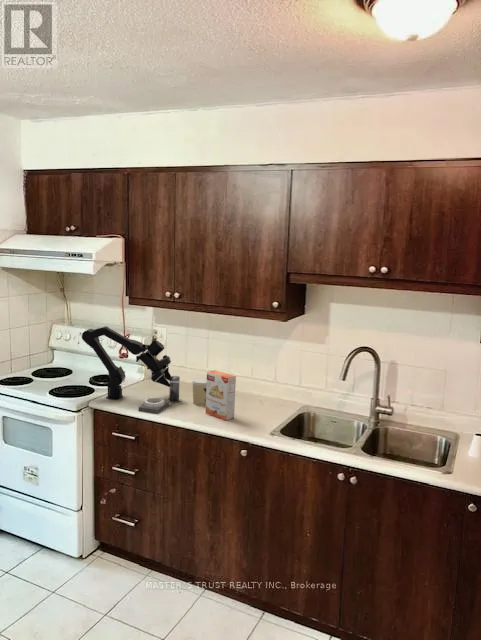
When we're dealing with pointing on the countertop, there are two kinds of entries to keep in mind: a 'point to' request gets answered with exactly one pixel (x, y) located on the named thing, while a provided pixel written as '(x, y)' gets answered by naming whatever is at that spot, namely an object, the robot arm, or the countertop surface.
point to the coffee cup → (199, 391)
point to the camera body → (153, 405)
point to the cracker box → (220, 394)
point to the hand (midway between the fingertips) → (171, 383)
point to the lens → (174, 389)
